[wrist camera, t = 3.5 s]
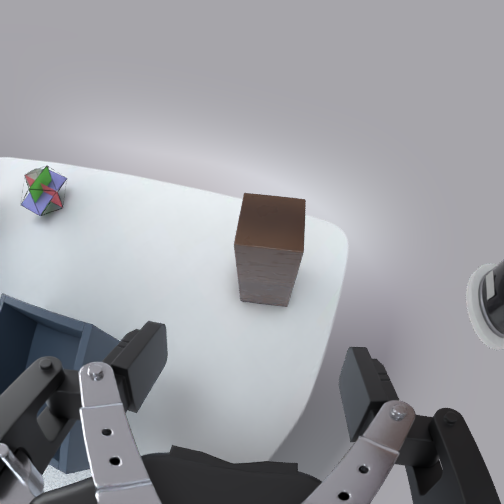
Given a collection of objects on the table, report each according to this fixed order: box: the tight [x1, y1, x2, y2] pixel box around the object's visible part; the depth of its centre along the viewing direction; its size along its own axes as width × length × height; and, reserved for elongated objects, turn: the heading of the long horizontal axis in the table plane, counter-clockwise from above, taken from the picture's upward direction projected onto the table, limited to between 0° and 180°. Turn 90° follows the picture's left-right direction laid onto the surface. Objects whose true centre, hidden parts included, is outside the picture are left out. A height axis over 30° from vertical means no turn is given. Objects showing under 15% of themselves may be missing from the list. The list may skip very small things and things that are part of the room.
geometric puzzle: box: [21, 165, 67, 217], centre depth 31 cm, size 7×7×8 cm
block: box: [234, 193, 306, 306], centre depth 23 cm, size 4×4×10 cm
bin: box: [0, 293, 120, 474], centre depth 19 cm, size 13×13×7 cm
